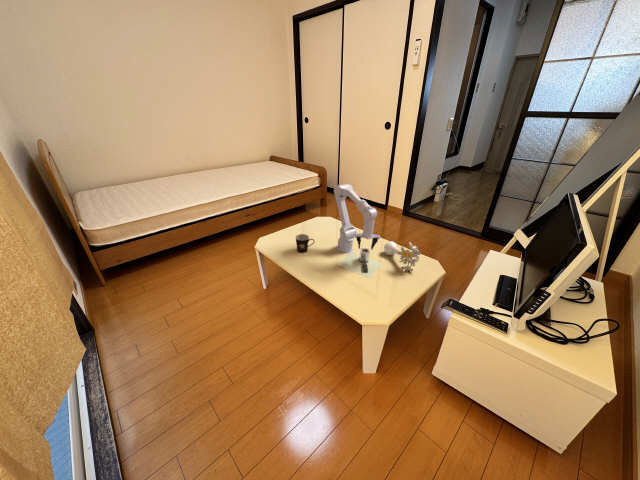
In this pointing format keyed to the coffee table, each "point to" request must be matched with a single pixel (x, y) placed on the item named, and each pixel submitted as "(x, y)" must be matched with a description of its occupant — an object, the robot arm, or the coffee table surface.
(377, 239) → the robot arm
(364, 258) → the socket
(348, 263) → the mat
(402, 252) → the flower vase
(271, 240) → the coffee table surface
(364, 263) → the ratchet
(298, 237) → the coffee mug
